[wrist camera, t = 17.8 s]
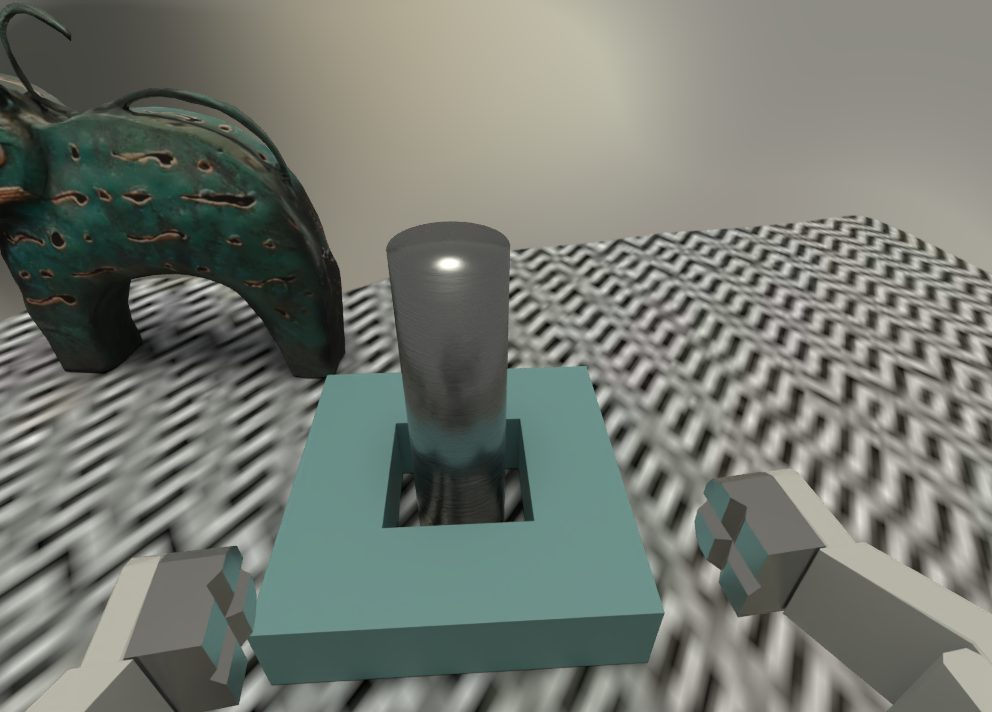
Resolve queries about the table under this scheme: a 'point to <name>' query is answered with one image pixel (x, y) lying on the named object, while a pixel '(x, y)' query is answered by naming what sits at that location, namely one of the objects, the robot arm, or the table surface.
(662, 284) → the table surface
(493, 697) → the table surface
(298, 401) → the table surface
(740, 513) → the robot arm
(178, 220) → the ceramic cat
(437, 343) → the steel pin
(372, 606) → the socket block
